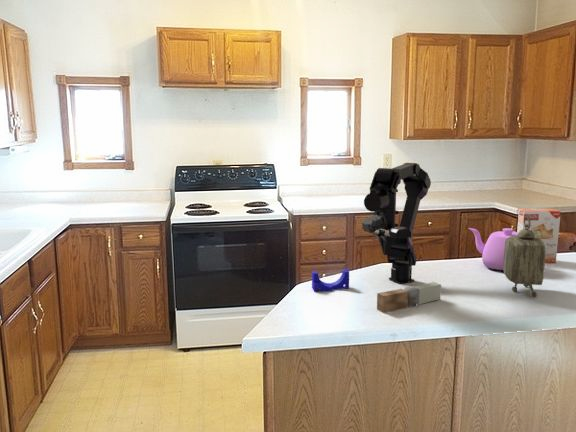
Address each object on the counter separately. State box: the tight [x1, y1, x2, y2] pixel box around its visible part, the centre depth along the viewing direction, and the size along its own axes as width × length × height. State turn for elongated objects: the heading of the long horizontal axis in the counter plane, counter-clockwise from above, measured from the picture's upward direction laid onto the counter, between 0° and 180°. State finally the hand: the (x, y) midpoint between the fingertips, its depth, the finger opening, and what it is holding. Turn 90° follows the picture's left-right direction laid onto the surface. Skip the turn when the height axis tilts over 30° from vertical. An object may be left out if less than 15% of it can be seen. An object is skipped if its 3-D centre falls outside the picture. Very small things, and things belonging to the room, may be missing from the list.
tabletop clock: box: [503, 215, 546, 298], centre depth 166 cm, size 14×9×25 cm, turn 168°
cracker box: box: [516, 208, 562, 264], centre depth 203 cm, size 14×6×21 cm, turn 87°
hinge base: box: [376, 288, 418, 313], centre depth 153 cm, size 13×4×5 cm, turn 117°
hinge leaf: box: [403, 281, 442, 305], centre depth 158 cm, size 13×4×5 cm, turn 120°
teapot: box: [468, 227, 518, 271], centre depth 198 cm, size 23×21×15 cm
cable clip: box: [311, 269, 350, 293], centre depth 171 cm, size 12×4×6 cm, turn 98°
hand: (385, 254), depth 168 cm, fingers closed
